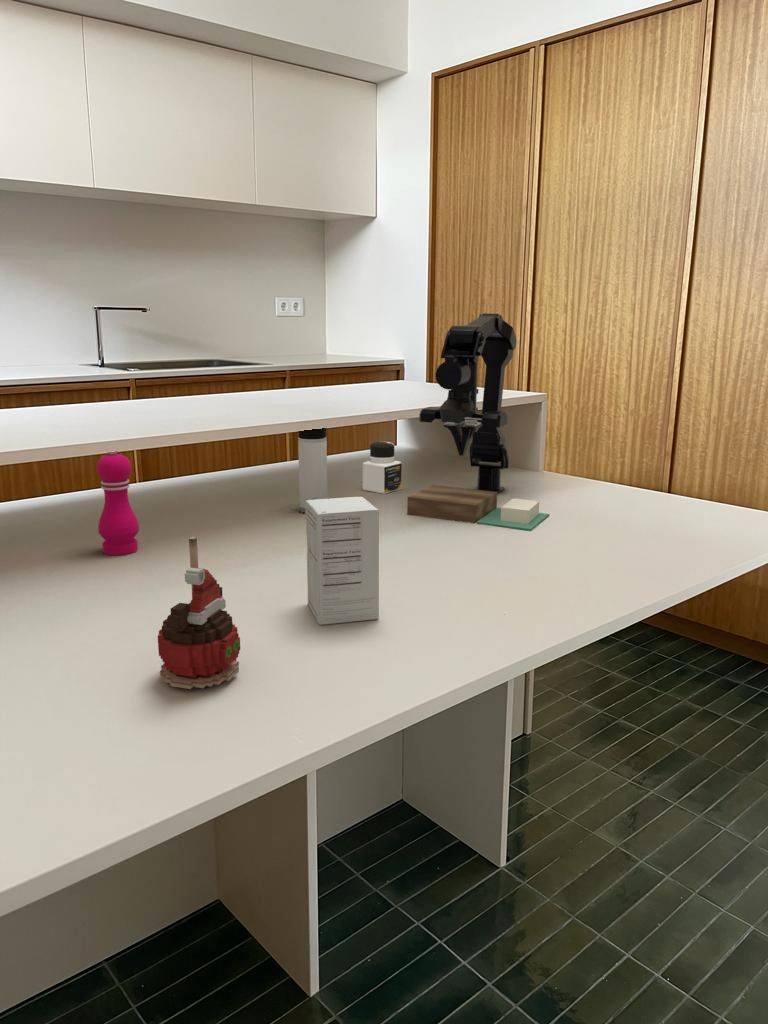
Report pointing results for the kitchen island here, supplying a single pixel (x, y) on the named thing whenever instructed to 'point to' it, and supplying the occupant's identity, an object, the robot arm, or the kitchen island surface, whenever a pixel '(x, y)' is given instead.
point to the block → (520, 511)
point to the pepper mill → (117, 506)
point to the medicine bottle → (382, 469)
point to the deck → (452, 503)
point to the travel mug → (312, 465)
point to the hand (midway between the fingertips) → (461, 455)
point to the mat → (495, 520)
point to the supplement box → (342, 559)
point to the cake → (199, 634)
